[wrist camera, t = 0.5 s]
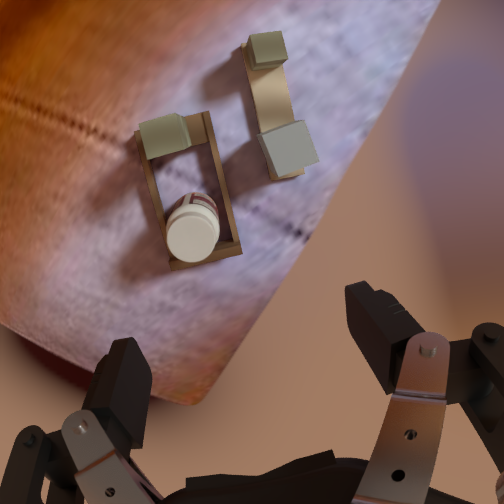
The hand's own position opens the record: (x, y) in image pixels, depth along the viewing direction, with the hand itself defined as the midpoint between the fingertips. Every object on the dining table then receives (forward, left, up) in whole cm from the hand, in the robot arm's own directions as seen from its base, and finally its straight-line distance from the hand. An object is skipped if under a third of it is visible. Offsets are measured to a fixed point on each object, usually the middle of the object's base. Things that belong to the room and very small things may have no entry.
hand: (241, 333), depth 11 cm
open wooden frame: (-2, -3, -23) cm, 24 cm away
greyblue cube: (-4, +7, -22) cm, 24 cm away
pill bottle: (+1, -3, -24) cm, 24 cm away
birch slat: (-8, +7, -23) cm, 26 cm away
